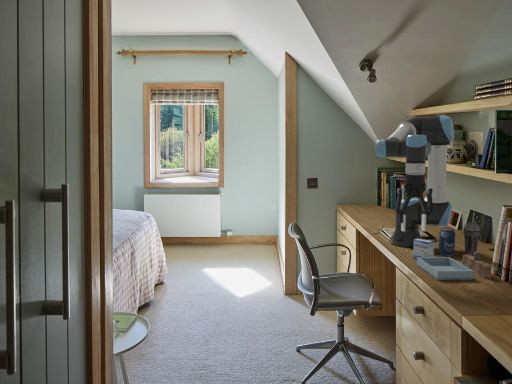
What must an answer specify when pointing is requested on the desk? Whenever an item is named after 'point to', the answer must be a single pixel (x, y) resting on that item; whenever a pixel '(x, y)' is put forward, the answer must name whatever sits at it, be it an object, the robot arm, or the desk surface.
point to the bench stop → (477, 265)
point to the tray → (444, 268)
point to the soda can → (447, 242)
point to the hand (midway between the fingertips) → (413, 230)
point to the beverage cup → (471, 237)
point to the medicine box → (423, 248)
